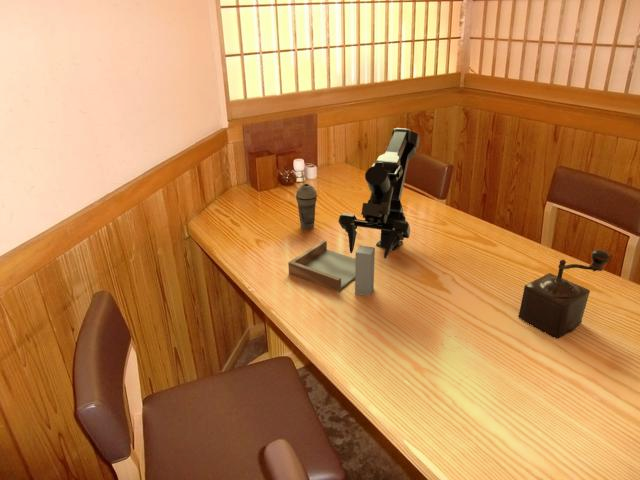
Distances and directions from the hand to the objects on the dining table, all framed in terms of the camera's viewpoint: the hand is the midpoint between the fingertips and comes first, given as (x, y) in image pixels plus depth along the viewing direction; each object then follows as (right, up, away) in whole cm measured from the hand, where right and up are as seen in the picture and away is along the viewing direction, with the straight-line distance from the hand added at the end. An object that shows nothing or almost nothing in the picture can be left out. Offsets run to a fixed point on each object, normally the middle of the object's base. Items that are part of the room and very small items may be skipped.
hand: (367, 255), depth 122 cm
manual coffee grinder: (+45, -15, -10) cm, 48 cm away
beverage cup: (-17, +8, +40) cm, 44 cm away
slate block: (-1, -10, +2) cm, 10 cm away
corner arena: (-9, -4, +13) cm, 16 cm away
